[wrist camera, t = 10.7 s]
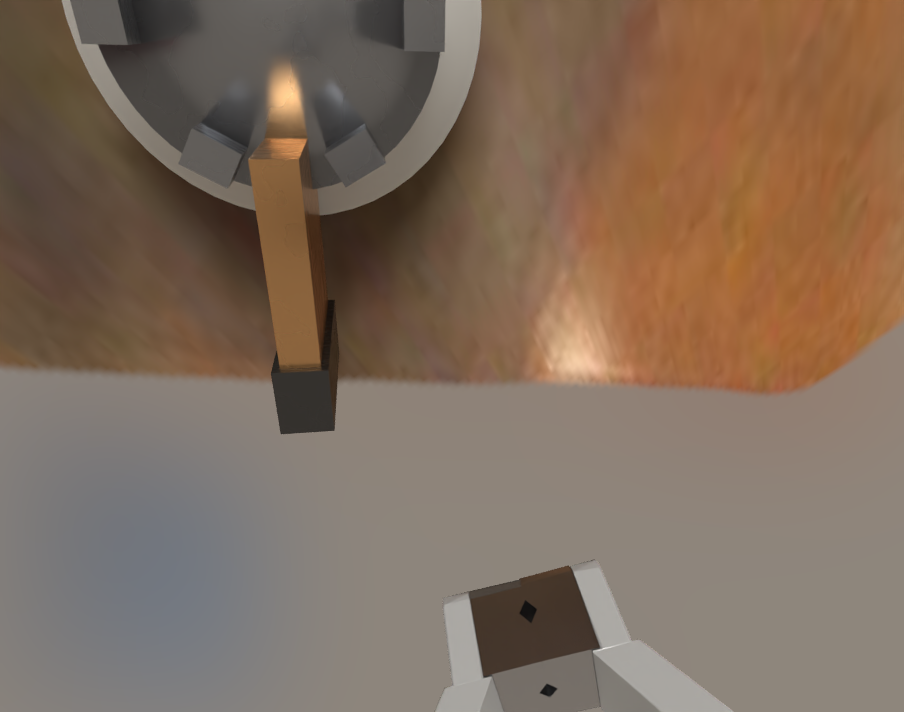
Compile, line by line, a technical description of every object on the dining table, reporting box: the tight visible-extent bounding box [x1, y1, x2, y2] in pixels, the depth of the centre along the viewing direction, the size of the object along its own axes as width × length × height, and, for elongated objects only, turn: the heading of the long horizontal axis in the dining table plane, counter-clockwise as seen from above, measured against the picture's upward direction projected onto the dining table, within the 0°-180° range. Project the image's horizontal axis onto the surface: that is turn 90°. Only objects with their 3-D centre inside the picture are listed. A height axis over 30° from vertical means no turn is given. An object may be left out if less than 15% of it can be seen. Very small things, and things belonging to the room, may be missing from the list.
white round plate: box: [62, 0, 482, 215], centre depth 24 cm, size 16×16×3 cm
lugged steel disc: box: [70, 0, 446, 434], centre depth 22 cm, size 21×12×7 cm, turn 179°
